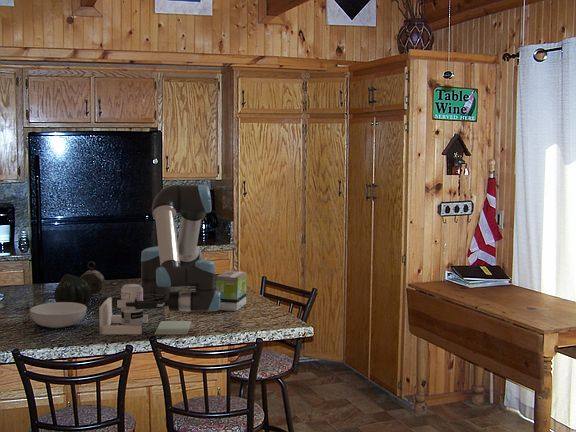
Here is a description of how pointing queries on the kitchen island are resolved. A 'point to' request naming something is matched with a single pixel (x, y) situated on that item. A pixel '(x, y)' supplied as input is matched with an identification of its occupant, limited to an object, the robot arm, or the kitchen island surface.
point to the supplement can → (132, 314)
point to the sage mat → (173, 327)
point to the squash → (72, 290)
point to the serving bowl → (58, 314)
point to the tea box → (232, 289)
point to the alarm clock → (94, 280)
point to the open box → (115, 321)
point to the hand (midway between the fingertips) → (119, 301)
